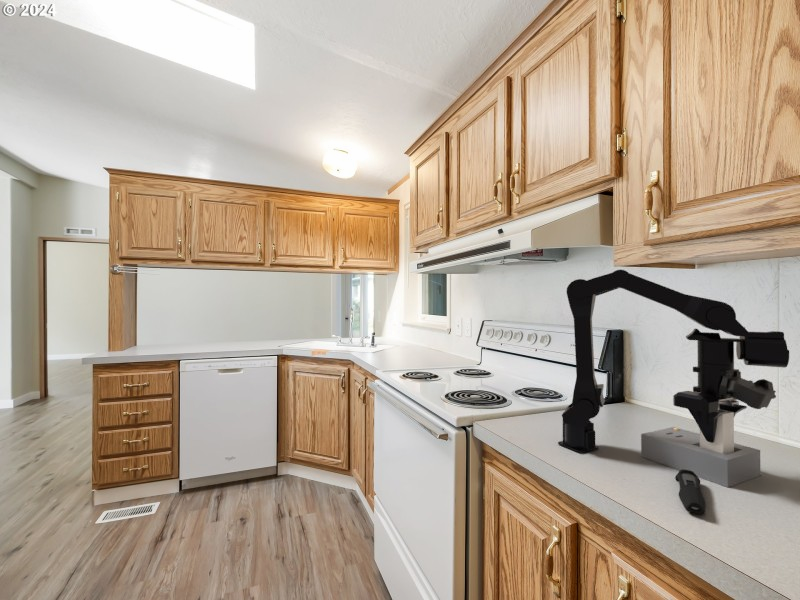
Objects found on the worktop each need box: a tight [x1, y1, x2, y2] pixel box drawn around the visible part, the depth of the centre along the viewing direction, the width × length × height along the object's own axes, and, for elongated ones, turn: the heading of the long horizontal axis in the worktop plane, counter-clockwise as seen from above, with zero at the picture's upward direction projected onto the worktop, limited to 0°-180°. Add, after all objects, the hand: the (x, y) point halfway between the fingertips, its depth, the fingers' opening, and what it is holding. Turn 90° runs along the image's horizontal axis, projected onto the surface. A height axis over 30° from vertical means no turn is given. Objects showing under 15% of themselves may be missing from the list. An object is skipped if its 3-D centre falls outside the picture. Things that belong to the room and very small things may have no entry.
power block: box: [640, 426, 762, 488], centre depth 80 cm, size 16×12×5 cm
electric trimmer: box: [674, 469, 706, 516], centre depth 66 cm, size 4×16×3 cm, turn 146°
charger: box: [699, 409, 735, 455], centre depth 77 cm, size 4×4×8 cm
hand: (716, 440), depth 77 cm, fingers closed on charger, 4 cm apart
